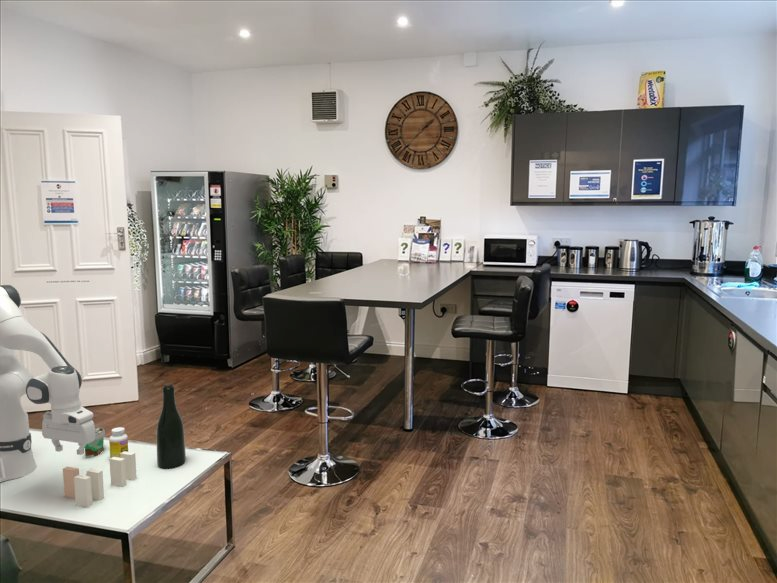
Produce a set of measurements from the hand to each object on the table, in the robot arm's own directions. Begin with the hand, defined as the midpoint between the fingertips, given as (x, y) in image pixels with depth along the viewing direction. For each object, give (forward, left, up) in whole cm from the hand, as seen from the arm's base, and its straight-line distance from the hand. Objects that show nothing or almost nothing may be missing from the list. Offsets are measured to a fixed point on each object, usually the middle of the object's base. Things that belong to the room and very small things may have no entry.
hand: (69, 452), depth 200 cm
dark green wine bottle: (+22, +28, -16) cm, 39 cm away
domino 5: (+12, +15, -16) cm, 25 cm away
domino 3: (+9, 0, -16) cm, 18 cm away
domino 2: (+8, -5, -16) cm, 19 cm away
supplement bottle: (-1, +30, -16) cm, 34 cm away
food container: (-13, +34, -16) cm, 40 cm away
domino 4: (+11, +10, -16) cm, 22 cm away
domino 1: (0, 0, -16) cm, 16 cm away
